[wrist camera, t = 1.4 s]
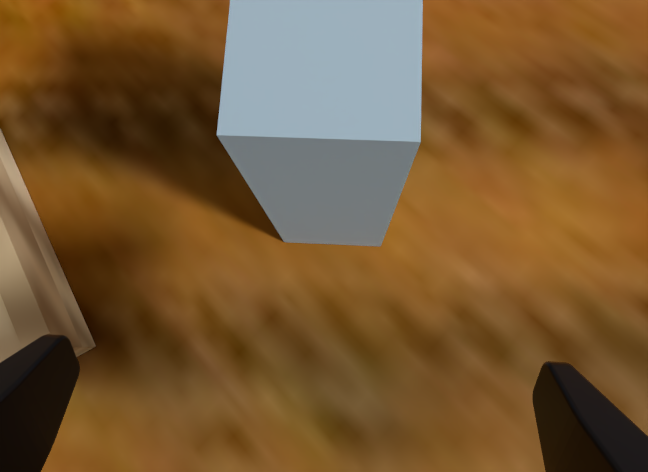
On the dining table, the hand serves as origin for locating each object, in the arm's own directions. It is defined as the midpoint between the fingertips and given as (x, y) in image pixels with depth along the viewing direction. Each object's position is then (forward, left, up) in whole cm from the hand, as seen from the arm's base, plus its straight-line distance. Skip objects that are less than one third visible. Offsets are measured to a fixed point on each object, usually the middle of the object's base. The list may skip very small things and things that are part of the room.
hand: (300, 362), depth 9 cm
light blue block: (+6, +4, -13) cm, 15 cm away
